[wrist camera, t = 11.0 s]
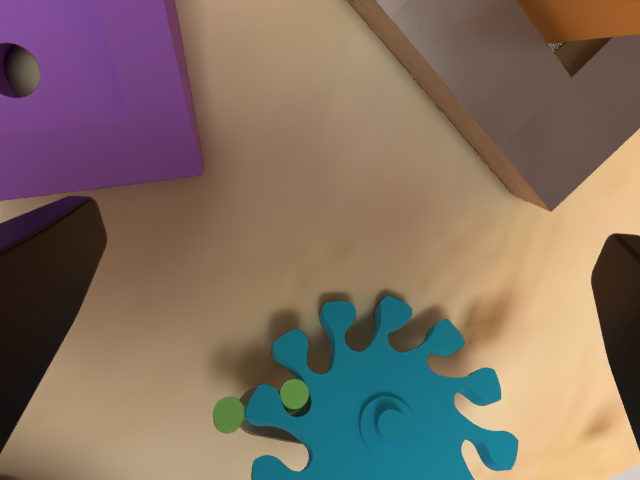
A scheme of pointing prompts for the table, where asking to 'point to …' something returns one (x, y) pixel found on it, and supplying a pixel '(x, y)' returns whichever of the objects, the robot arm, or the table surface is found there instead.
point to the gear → (370, 406)
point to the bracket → (96, 97)
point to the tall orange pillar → (582, 18)
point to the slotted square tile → (517, 88)
